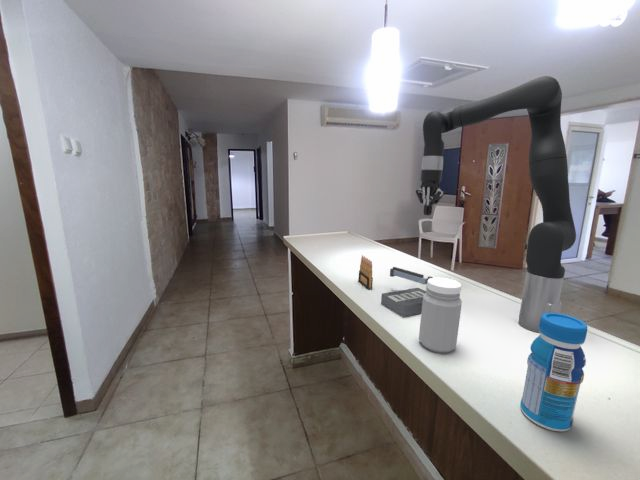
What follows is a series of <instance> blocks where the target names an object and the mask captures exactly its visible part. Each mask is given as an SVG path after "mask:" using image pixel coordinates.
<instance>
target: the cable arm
mask: <svg viewBox="0 0 640 480" xmlns="http://www.w3.org/2000/svg"><path fill="white" fill-rule="evenodd" d="M389 276H390V277H392V278H394V277H399V278H402V279H405V280H409V281H410V282H411V281H412V282H415V283H419V284H421V285H427V278H428V277H427V278H426V277H424V274H423V273H417V272H415V271H410V270H407V269H404V268H400V267H397V266H393V267H392V268H390V269H389Z"/></svg>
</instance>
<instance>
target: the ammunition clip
mask: <svg viewBox="0 0 640 480" xmlns="http://www.w3.org/2000/svg"><path fill="white" fill-rule="evenodd" d="M373 279H374V278H373V261H372V260H371V259H369V258H367V257H366V256H364V255H361V259H360V264H359V271H358V279H357V280H358V283H359V284H360V285H362V286H363V287H364V288H365V289H366V290H367V291H369V290H373Z"/></svg>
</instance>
